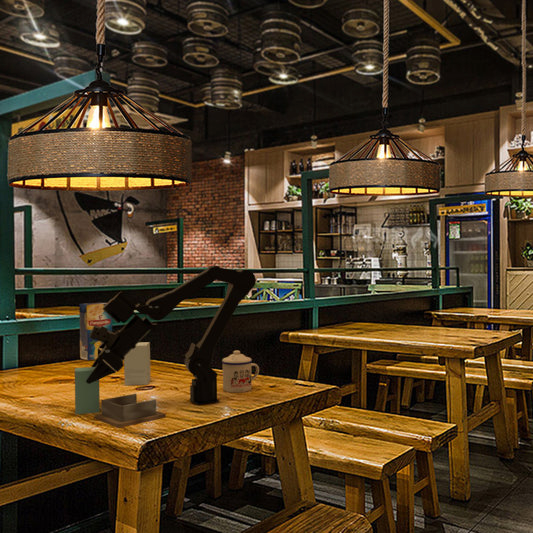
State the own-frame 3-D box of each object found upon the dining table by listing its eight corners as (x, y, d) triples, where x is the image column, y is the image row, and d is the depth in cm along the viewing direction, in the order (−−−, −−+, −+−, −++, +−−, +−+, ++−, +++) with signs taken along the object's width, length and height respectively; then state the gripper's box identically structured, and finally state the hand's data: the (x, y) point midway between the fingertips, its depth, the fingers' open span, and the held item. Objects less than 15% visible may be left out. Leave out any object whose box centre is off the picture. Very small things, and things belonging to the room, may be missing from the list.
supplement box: (151, 380, 193) (150, 341, 193) (147, 385, 186) (146, 345, 186) (128, 380, 193) (127, 342, 193) (123, 385, 186) (123, 345, 185)
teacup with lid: (230, 394, 172) (230, 354, 171) (217, 388, 179) (216, 350, 179) (266, 389, 178) (265, 350, 178) (251, 384, 185) (251, 346, 185)
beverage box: (112, 356, 242) (112, 303, 242) (87, 360, 235) (86, 304, 235) (104, 355, 247) (103, 302, 247) (79, 358, 240) (79, 304, 240)
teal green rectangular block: (99, 407, 157) (98, 366, 157) (99, 412, 153) (99, 369, 152) (75, 409, 156) (75, 368, 156) (75, 414, 151) (74, 371, 151)
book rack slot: (140, 408, 156) (139, 391, 156) (165, 417, 147) (165, 399, 147) (94, 418, 147) (94, 400, 147) (118, 427, 138) (118, 408, 138)
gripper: (107, 311, 164) (65, 353, 161) (108, 317, 146) (62, 364, 143) (136, 338, 167) (95, 380, 164) (141, 347, 149) (96, 394, 146)
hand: (87, 379), depth 154 cm, fingers open, 9 cm apart
